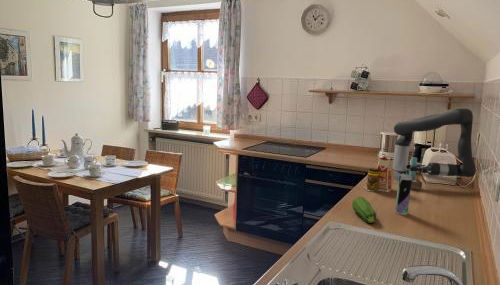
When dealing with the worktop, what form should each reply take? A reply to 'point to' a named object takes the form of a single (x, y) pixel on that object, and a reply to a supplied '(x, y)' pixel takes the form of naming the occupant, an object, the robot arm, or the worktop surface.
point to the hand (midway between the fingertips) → (408, 167)
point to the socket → (416, 185)
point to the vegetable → (364, 209)
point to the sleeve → (397, 174)
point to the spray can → (403, 193)
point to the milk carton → (385, 174)
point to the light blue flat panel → (413, 164)
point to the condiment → (373, 180)
